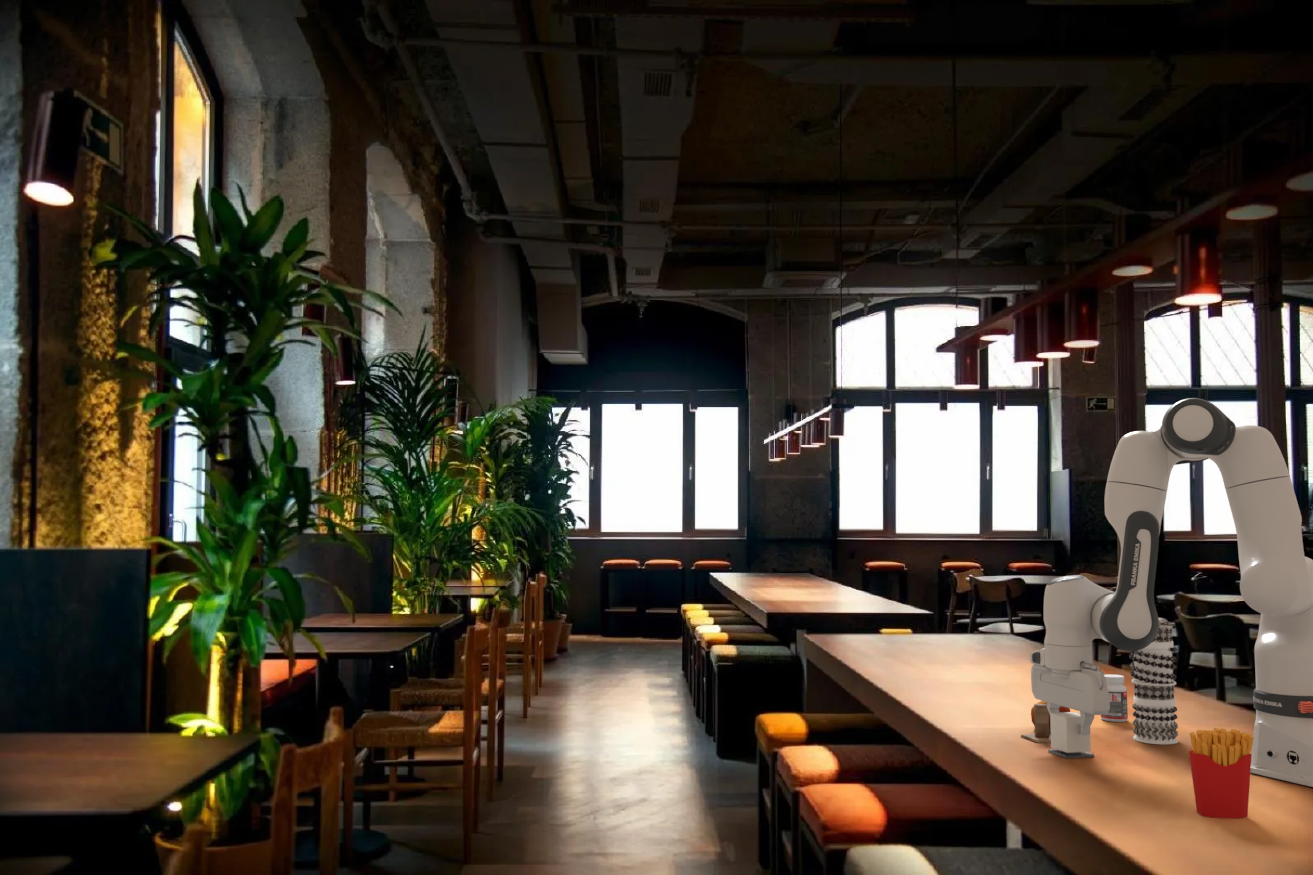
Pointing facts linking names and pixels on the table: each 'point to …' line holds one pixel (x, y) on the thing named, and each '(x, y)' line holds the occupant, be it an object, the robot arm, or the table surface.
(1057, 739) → the white rectangular block
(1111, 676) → the pill bottle
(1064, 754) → the grey square post stand
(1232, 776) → the french fries
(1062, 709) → the fruit
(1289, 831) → the table surface
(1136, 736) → the black white cylinder
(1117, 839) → the table surface
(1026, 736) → the knob on square plate
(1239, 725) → the table surface
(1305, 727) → the robot arm
